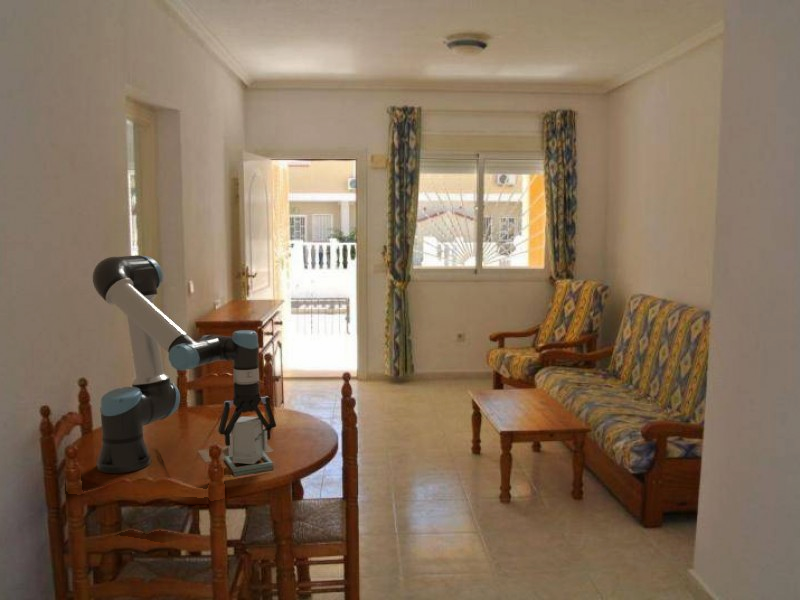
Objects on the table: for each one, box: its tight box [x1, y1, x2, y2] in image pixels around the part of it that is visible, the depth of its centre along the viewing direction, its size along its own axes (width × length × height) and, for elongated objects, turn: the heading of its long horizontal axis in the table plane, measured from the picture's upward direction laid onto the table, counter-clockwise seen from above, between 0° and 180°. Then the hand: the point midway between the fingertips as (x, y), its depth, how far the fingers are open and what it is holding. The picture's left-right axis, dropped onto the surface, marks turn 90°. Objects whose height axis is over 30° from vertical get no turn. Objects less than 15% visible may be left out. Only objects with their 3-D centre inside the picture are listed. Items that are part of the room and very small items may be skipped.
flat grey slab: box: [197, 443, 275, 463], centre depth 216 cm, size 22×12×6 cm, turn 117°
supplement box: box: [231, 416, 264, 465], centre depth 204 cm, size 7×7×13 cm
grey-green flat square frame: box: [224, 452, 274, 478], centre depth 205 cm, size 12×12×2 cm
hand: (248, 452), depth 205 cm, fingers closed on supplement box, 10 cm apart
